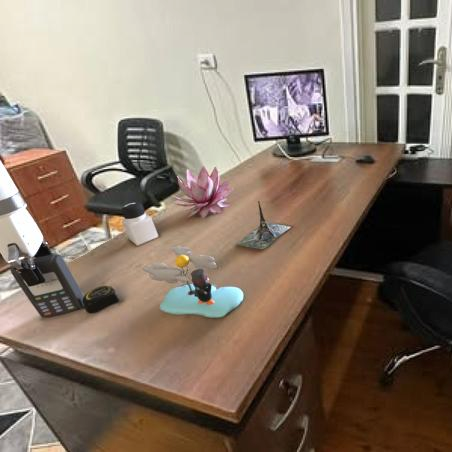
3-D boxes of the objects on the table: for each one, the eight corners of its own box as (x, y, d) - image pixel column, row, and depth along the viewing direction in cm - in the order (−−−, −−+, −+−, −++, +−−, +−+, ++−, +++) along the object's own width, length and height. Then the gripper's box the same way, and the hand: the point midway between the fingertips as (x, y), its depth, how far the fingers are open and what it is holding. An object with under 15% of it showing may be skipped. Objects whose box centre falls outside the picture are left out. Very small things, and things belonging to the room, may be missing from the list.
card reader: (40, 321, 83) (5, 271, 76) (46, 311, 86) (14, 261, 79) (83, 310, 85) (54, 260, 78) (87, 300, 89) (60, 251, 81)
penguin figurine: (250, 293, 85) (237, 241, 78) (228, 325, 76) (210, 270, 69) (181, 285, 91) (162, 235, 83) (153, 314, 82) (129, 261, 74)
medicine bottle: (159, 236, 115) (146, 204, 109) (137, 246, 111) (122, 212, 105) (150, 230, 120) (138, 198, 114) (129, 239, 115) (115, 206, 109)
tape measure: (90, 319, 82) (83, 307, 80) (86, 304, 87) (79, 292, 85) (121, 305, 86) (115, 293, 84) (116, 292, 91) (110, 280, 89)
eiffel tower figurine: (265, 222, 117) (258, 185, 111) (291, 227, 113) (284, 189, 107) (237, 245, 106) (226, 206, 99) (264, 251, 102) (255, 210, 95)
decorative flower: (185, 232, 116) (171, 190, 109) (173, 210, 133) (160, 173, 125) (246, 212, 126) (237, 172, 118) (227, 194, 142) (218, 158, 135)
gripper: (-7, 196, 77) (33, 259, 86) (-40, 228, 64) (11, 300, 72) (33, 187, 80) (68, 249, 88) (9, 216, 66) (54, 287, 74)
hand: (43, 272), depth 80 cm, fingers open, 9 cm apart
